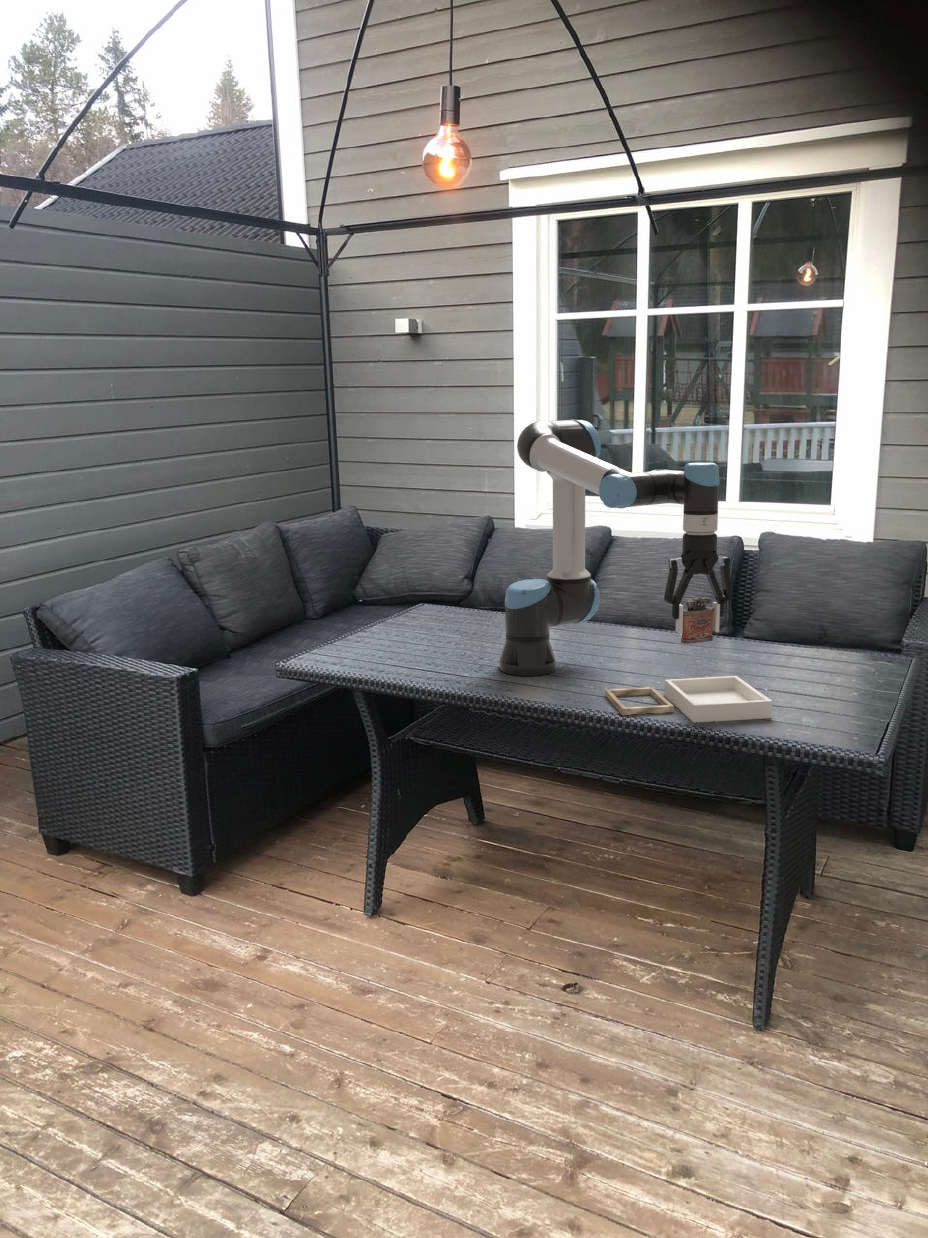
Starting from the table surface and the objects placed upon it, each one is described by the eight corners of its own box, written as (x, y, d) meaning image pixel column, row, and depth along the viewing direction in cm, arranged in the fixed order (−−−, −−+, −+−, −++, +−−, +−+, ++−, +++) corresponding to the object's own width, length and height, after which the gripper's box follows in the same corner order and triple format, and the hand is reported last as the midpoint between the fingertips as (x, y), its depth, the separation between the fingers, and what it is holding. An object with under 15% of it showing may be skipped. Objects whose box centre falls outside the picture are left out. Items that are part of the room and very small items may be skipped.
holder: (622, 715, 219) (622, 709, 219) (605, 695, 234) (605, 689, 234) (673, 712, 221) (673, 706, 220) (653, 692, 235) (653, 687, 235)
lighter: (686, 644, 218) (687, 601, 216) (677, 641, 221) (678, 598, 219) (715, 640, 221) (717, 597, 219) (707, 637, 224) (708, 595, 222)
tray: (693, 722, 214) (694, 705, 213) (664, 695, 233) (664, 679, 232) (771, 718, 216) (772, 701, 215) (735, 691, 235) (736, 675, 234)
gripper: (659, 536, 211) (657, 637, 216) (751, 532, 213) (747, 633, 218) (650, 532, 218) (648, 630, 223) (738, 528, 220) (734, 626, 225)
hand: (697, 631), depth 221 cm, fingers closed on lighter, 8 cm apart
